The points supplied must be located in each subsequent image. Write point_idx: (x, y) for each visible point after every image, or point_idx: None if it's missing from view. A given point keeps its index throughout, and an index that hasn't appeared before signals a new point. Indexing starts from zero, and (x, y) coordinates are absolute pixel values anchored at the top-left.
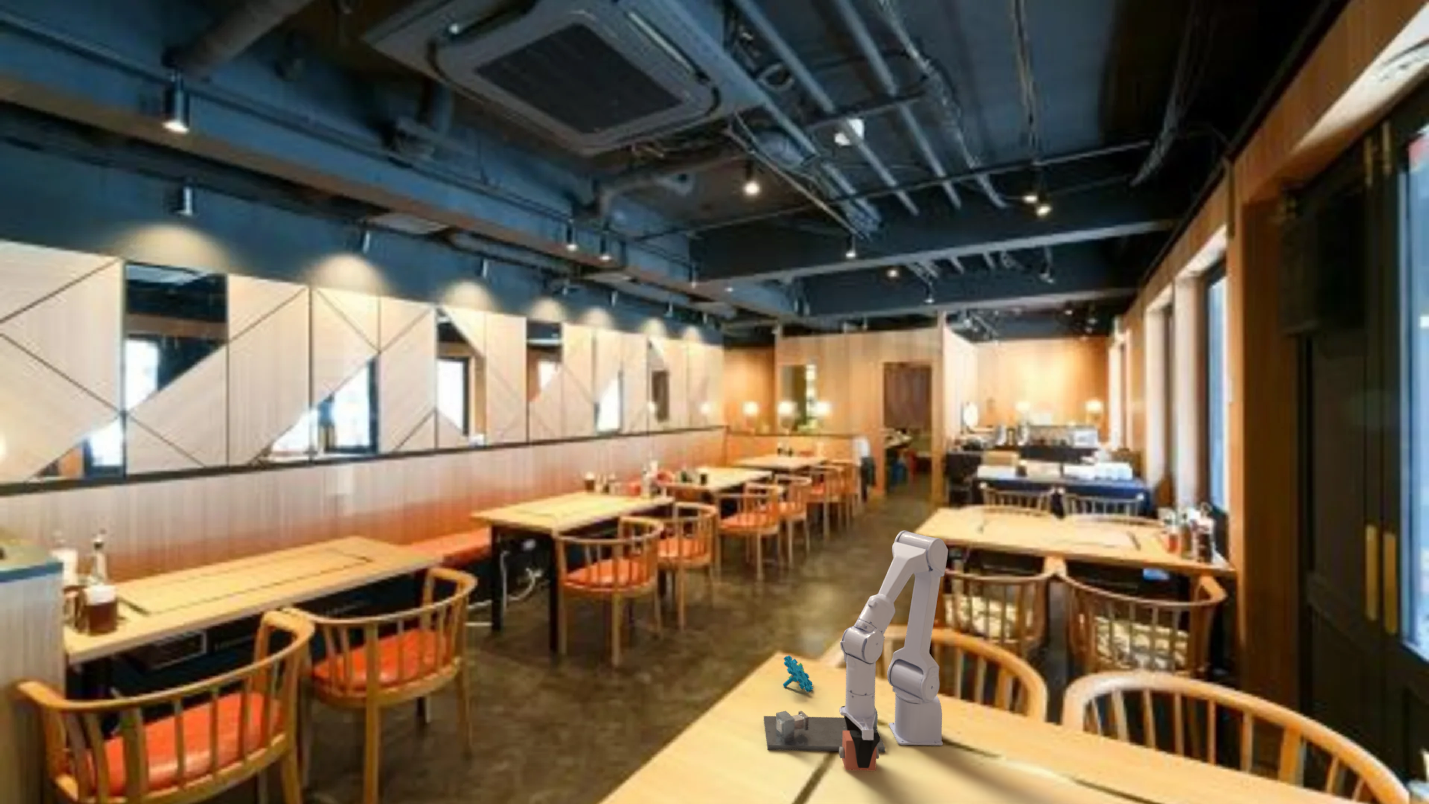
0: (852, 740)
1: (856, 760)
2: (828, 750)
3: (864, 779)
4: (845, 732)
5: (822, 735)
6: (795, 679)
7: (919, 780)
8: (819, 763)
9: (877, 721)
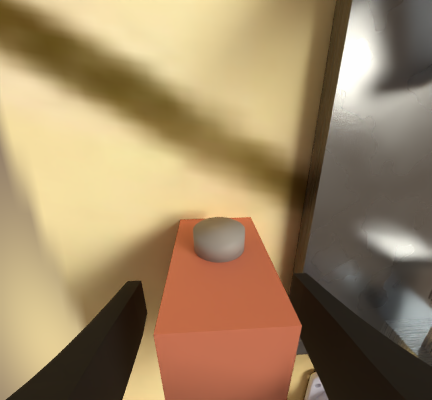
0: (162, 367)
1: (129, 295)
2: (310, 173)
3: (132, 271)
4: (270, 340)
5: (413, 162)
6: None
7: (156, 385)
8: (219, 116)
9: None
